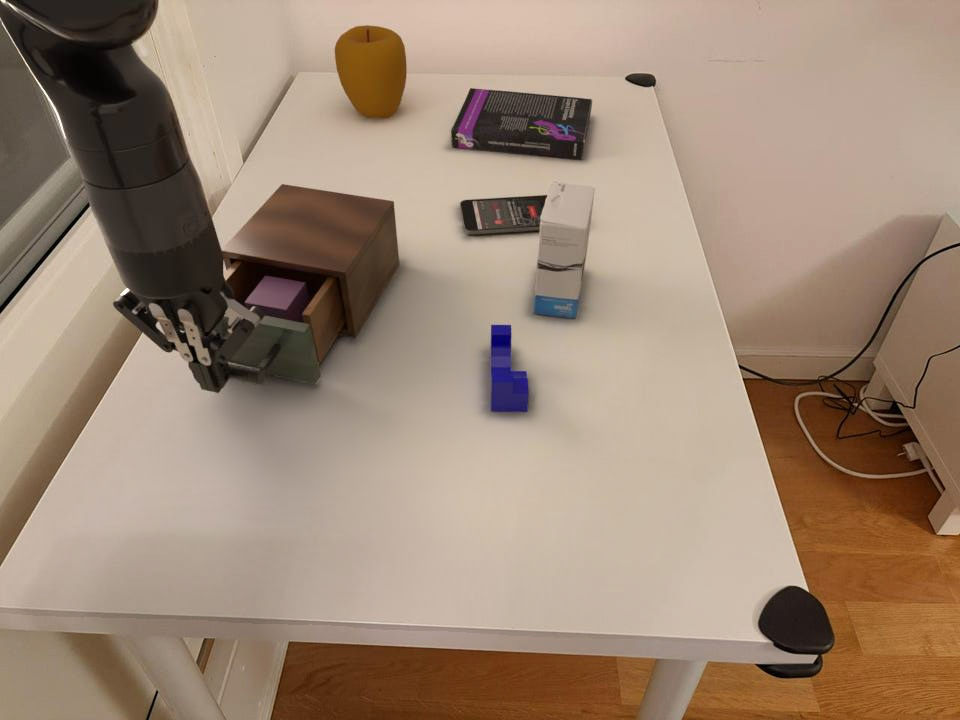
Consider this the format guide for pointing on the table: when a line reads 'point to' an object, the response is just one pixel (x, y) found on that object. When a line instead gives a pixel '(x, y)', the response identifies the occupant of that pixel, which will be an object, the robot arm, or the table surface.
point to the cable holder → (506, 375)
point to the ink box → (562, 249)
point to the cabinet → (325, 243)
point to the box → (522, 123)
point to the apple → (372, 69)
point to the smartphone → (502, 214)
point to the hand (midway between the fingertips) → (215, 384)
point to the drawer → (285, 326)
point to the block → (280, 298)
